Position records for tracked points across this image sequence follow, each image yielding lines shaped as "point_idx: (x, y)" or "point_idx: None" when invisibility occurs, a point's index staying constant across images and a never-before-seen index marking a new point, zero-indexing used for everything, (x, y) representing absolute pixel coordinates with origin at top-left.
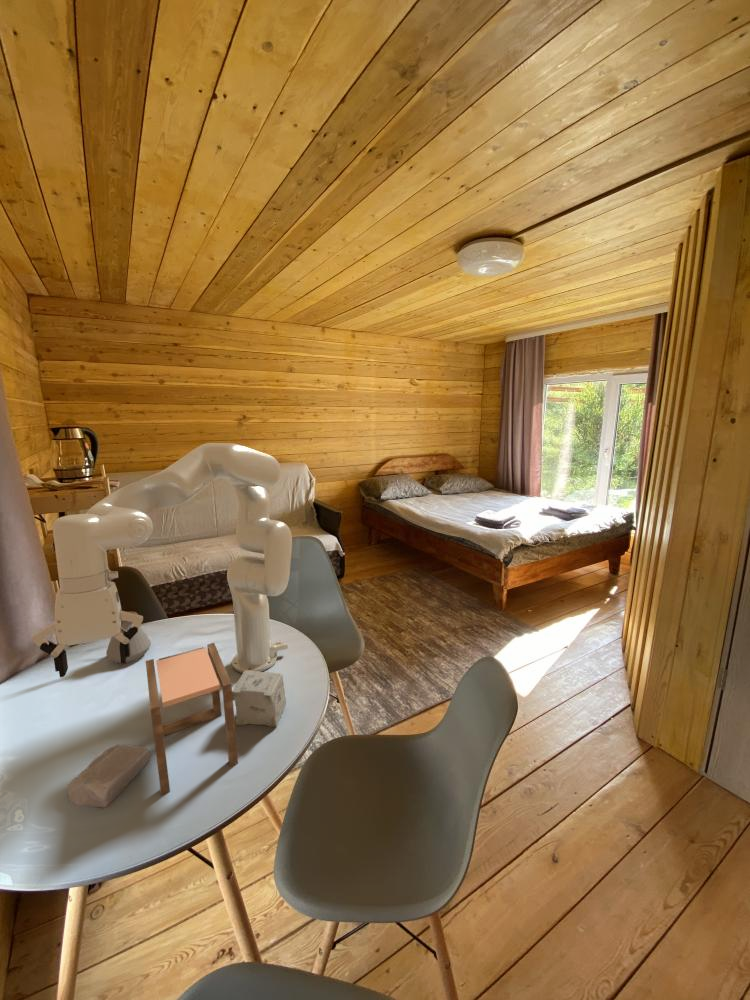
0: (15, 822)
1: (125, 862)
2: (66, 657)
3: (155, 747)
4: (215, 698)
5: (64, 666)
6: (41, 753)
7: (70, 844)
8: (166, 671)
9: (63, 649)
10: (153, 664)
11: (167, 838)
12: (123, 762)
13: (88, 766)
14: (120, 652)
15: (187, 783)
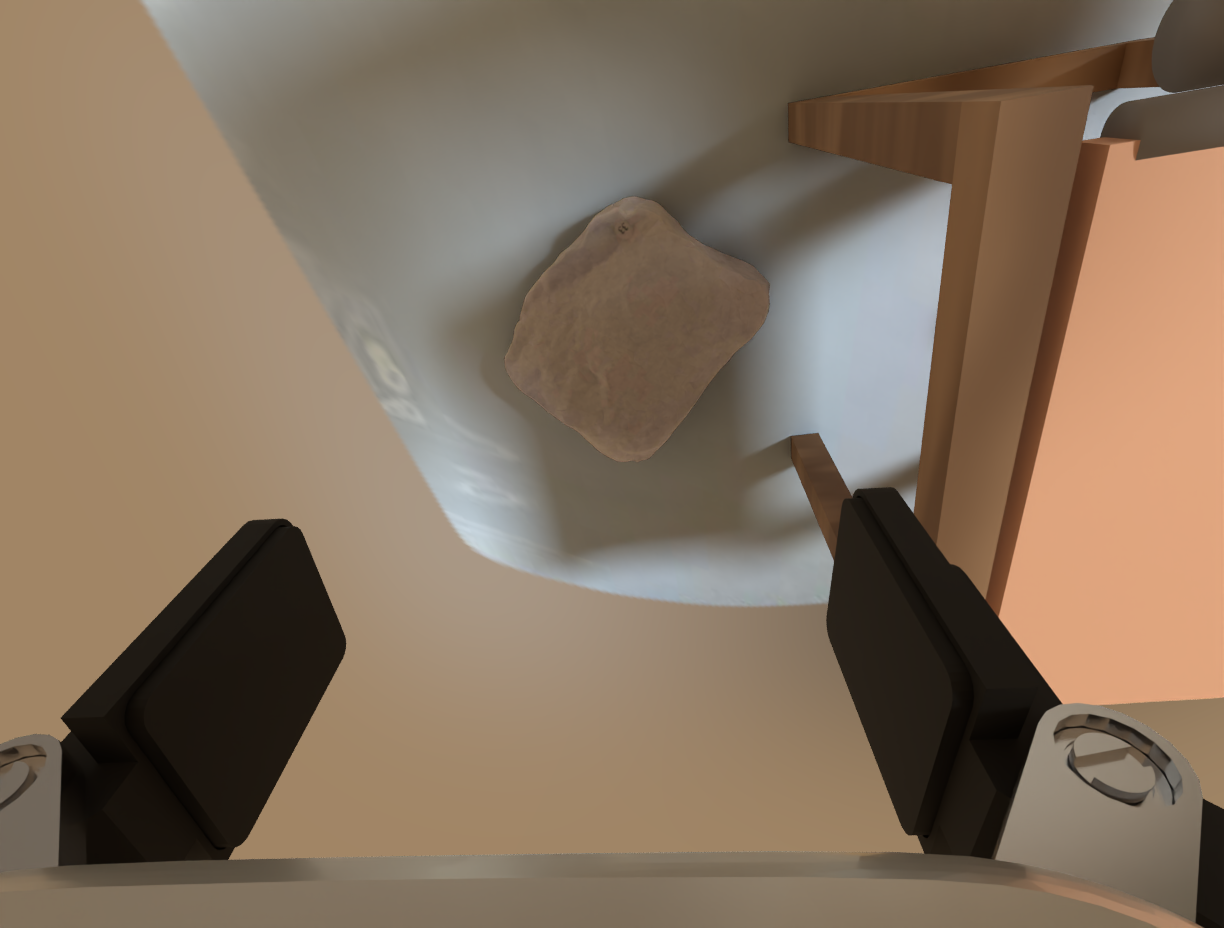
0: (389, 390)
1: (705, 599)
2: (220, 631)
3: None
4: None
5: (297, 690)
6: (278, 13)
7: (572, 515)
8: (1115, 417)
9: (95, 725)
10: (1055, 235)
11: (796, 582)
12: (682, 353)
13: (544, 278)
14: (878, 753)
15: (872, 446)
